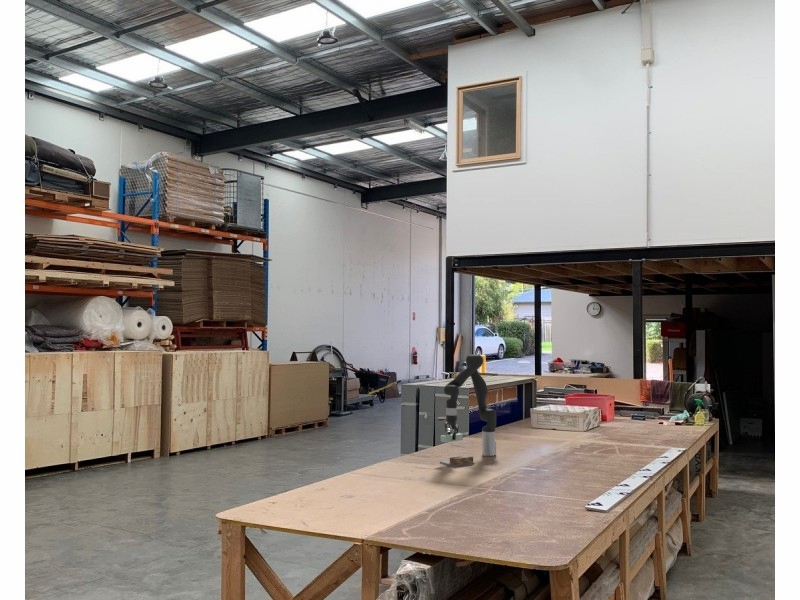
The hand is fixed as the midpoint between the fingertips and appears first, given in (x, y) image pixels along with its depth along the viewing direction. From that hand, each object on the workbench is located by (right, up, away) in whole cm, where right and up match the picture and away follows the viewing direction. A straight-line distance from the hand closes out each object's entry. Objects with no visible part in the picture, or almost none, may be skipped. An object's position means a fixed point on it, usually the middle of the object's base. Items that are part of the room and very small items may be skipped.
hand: (451, 439), depth 450 cm
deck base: (+3, -15, -6) cm, 17 cm away
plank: (0, -1, 0) cm, 1 cm away
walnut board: (+6, -14, -10) cm, 18 cm away
